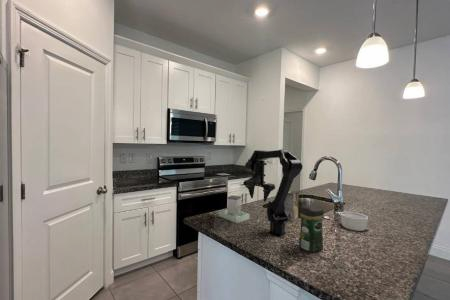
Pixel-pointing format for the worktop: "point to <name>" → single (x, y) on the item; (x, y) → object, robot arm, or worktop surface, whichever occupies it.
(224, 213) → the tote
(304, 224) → the coffee jar
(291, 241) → the worktop surface
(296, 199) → the coffee box
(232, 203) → the tin
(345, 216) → the ramekin
